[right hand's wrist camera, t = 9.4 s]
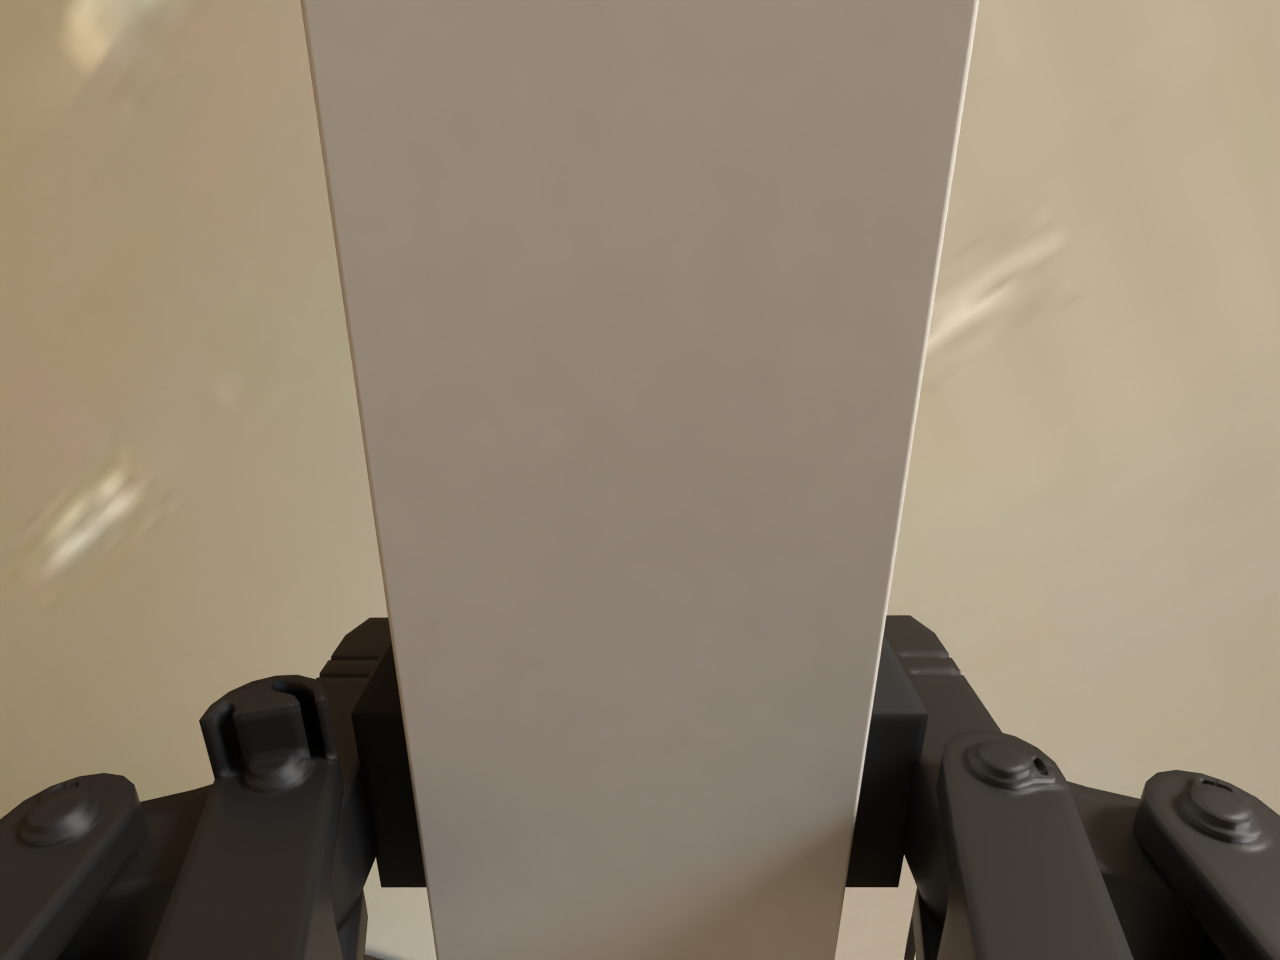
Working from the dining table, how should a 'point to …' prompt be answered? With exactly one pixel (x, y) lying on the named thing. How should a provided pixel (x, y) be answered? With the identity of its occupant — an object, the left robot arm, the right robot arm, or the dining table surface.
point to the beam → (637, 438)
